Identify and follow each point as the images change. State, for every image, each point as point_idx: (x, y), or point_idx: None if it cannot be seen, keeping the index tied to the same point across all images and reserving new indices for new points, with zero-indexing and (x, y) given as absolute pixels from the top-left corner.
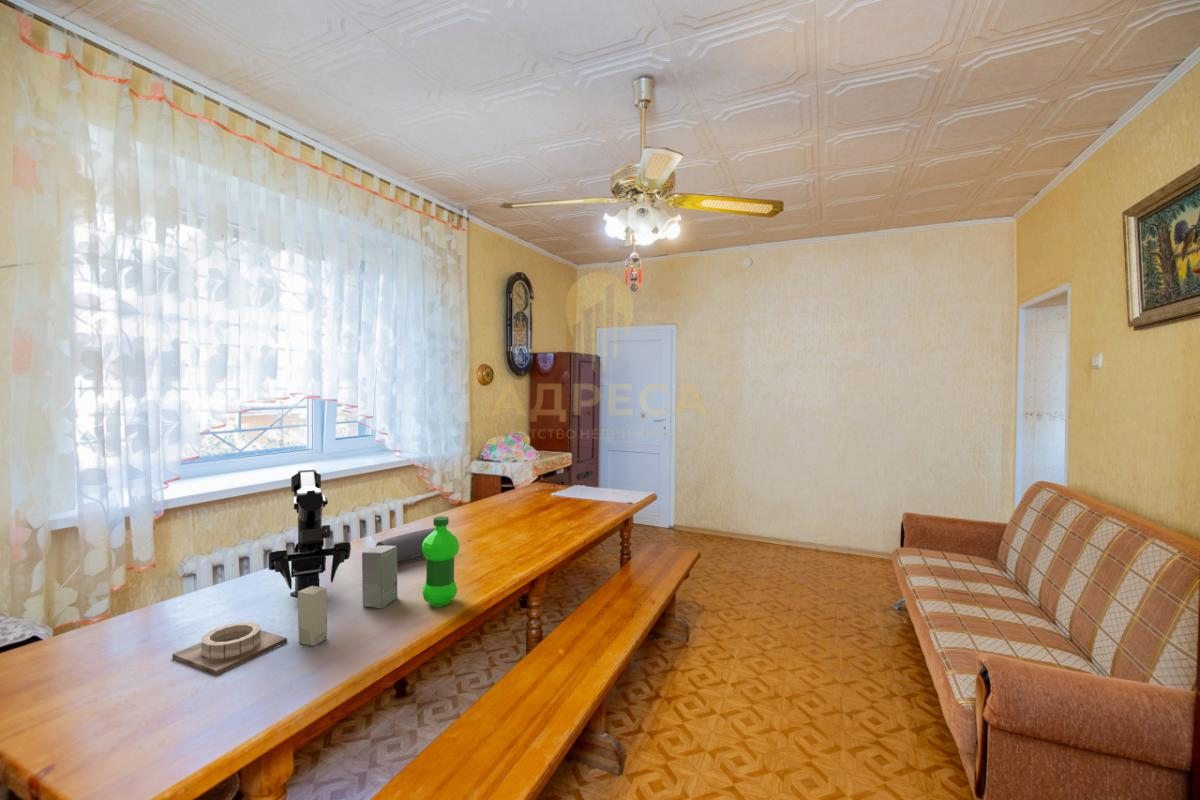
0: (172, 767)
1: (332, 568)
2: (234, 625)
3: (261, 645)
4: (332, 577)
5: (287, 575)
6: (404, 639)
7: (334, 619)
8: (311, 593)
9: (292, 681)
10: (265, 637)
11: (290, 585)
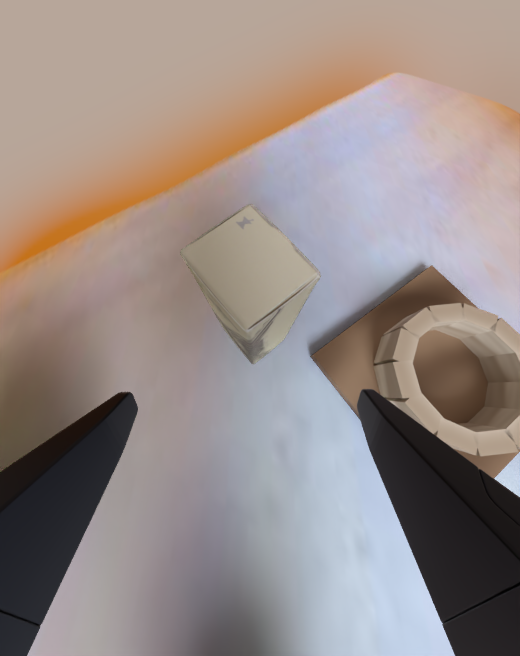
0: (402, 94)
1: (41, 467)
2: (483, 435)
3: (366, 341)
4: (108, 405)
5: (455, 459)
6: (82, 250)
7: (191, 448)
8: (255, 212)
9: (290, 196)
10: (365, 385)
11: (374, 393)
